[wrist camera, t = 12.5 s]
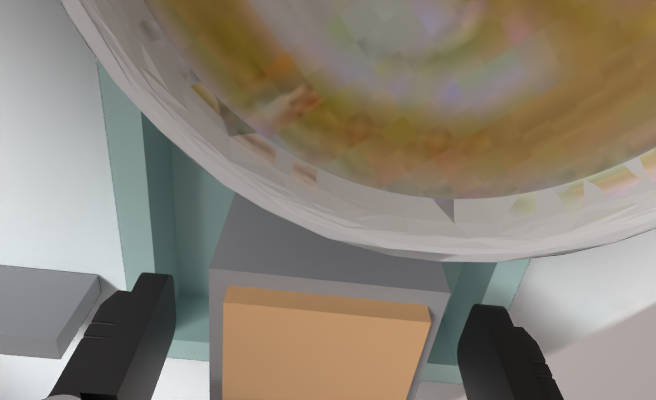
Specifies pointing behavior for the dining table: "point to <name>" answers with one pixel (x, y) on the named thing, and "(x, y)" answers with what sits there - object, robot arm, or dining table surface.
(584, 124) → the coffee mug
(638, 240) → the dining table surface
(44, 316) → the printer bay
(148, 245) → the tray
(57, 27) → the dining table surface
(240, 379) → the grey block tan panel
